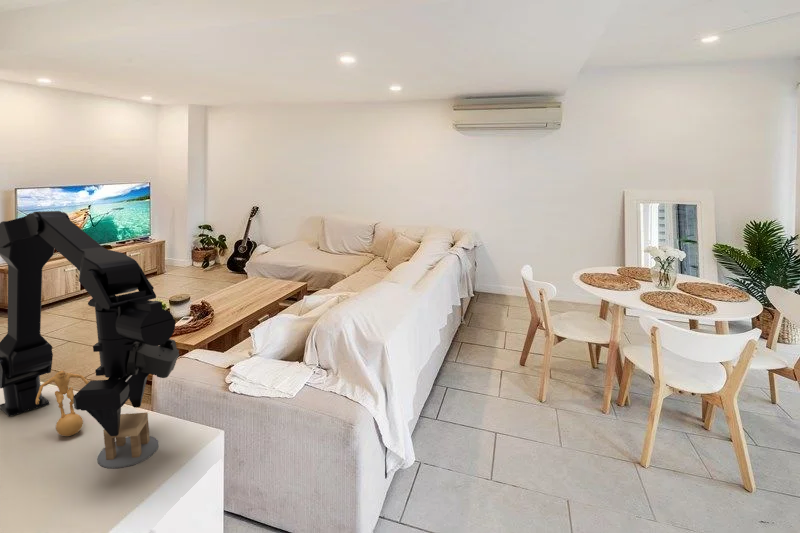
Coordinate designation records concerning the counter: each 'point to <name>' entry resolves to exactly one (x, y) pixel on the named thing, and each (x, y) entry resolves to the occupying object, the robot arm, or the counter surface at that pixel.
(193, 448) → the counter surface
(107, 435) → the oak stool
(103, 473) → the counter surface
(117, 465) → the charcoal mat
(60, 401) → the figurine
